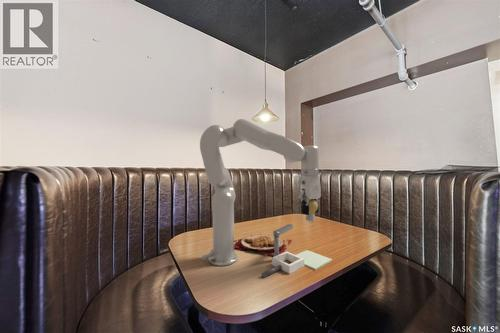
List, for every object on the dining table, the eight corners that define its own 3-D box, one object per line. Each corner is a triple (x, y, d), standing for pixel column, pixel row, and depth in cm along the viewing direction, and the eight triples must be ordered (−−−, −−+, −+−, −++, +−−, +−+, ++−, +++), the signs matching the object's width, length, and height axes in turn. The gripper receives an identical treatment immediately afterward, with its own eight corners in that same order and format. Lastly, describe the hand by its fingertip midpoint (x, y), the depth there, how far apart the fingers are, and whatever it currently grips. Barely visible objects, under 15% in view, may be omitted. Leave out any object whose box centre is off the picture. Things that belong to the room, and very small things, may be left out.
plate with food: (279, 260, 88) (279, 252, 88) (229, 248, 99) (229, 241, 99) (292, 242, 110) (292, 236, 110) (250, 234, 122) (250, 229, 122)
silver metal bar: (293, 228, 97) (293, 224, 97) (277, 236, 85) (277, 232, 85) (288, 227, 99) (288, 223, 99) (272, 235, 86) (272, 231, 86)
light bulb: (314, 219, 90) (314, 197, 90) (320, 223, 84) (320, 199, 84) (301, 219, 90) (301, 197, 90) (305, 223, 84) (305, 199, 84)
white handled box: (271, 283, 68) (271, 253, 68) (249, 269, 78) (249, 243, 78) (304, 266, 81) (304, 240, 81) (282, 256, 90) (281, 233, 90)
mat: (315, 270, 77) (315, 268, 77) (289, 258, 87) (289, 257, 87) (332, 260, 86) (332, 259, 86) (306, 251, 96) (306, 249, 96)
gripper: (305, 173, 79) (305, 217, 79) (327, 173, 90) (328, 212, 90) (291, 173, 85) (291, 214, 84) (313, 173, 96) (313, 209, 95)
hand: (310, 212), depth 87 cm, fingers closed on light bulb, 6 cm apart
